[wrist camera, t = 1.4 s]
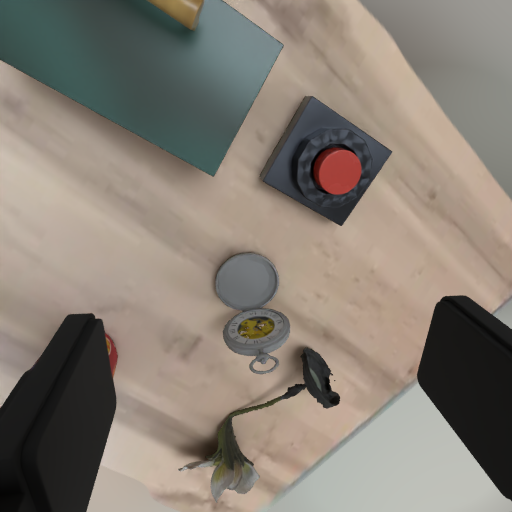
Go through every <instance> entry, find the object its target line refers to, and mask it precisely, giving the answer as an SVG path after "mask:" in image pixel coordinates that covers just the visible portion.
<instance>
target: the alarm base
mask: <svg viewBox="0 0 512 512" xmlns="http://www.w3.org/2000/svg"><path fill="white" fill-rule="evenodd" d="M335 147H337V148H342V149H345V150H348V151H351V152H352V153H354V154H355V155H356V156H357V157H358V159H359V161H360V163H361V176H360V179H359V181H358V183H357V184H356V186H355V187H354V188H353V189H352V190H350V191H349V192H347V193H344V194H339V195H335V194H331V193H329V192H327V191H325V190H324V189H323V188H321V187H320V186H319V185H318V184H317V183H316V181H315V179H314V176H313V167H314V163H315V161H316V159H317V158H318V156H319V155H320V154H321V153H322V152H324V151H325V150H327V149H329V148H335ZM391 153H392V151H391V150H389V149H388V148H386V147H385V146H383V145H382V144H381V143H379V142H378V141H376V140H375V139H373V138H372V137H371V136H369V135H368V134H366V133H365V132H363V131H362V130H360V129H359V128H358V127H356V126H355V125H353V124H352V123H350V122H349V121H348V120H346V119H345V118H343V117H342V116H340V115H339V114H337V113H336V112H335V111H333V110H332V109H330V108H329V107H327V106H326V105H325V104H323V103H322V102H320V101H319V100H317V99H316V98H314V97H313V96H305V98H304V99H303V101H302V103H301V105H300V106H299V108H298V110H297V112H296V113H295V115H294V117H293V119H292V120H291V122H290V124H289V126H288V127H287V129H286V131H285V133H284V134H283V136H282V138H281V139H280V141H279V143H278V145H277V146H276V148H275V150H274V152H273V153H272V155H271V157H270V159H269V160H268V162H267V164H266V166H265V167H264V169H263V171H262V172H261V174H260V176H259V177H260V178H261V179H262V181H263V182H265V183H267V184H268V185H270V186H272V187H274V188H275V189H277V190H279V191H281V192H282V193H284V194H286V195H288V196H289V197H291V198H293V199H295V200H296V201H298V202H300V203H302V204H303V205H305V206H307V207H309V208H310V209H312V210H314V211H316V212H317V213H319V214H321V215H323V216H324V217H326V218H328V219H330V220H331V221H333V222H335V223H336V224H338V225H340V226H342V225H343V223H344V222H345V221H346V219H347V218H348V216H349V215H350V213H351V212H352V210H353V209H354V207H355V206H356V204H357V203H358V201H359V200H360V199H361V197H362V196H363V194H364V193H365V191H366V190H367V188H368V187H369V185H370V184H371V182H372V181H373V180H374V178H375V177H376V175H377V174H378V172H379V171H380V169H381V168H382V166H383V165H384V163H385V162H386V161H387V159H388V158H389V156H390V155H391Z"/></svg>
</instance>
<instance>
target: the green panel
mask: <svg viewBox="0 0 512 512" xmlns="http://www.w3.org/2000/svg"><path fill="white" fill-rule="evenodd" d="M283 46H284V45H283V44H282V43H280V42H279V41H278V40H276V39H275V38H273V37H272V36H271V35H269V34H268V33H267V32H265V31H264V30H263V29H261V28H260V27H258V26H257V25H256V24H254V23H253V22H252V21H250V20H249V19H247V18H246V17H245V16H243V15H242V14H241V13H239V12H238V11H236V10H235V9H234V8H232V7H231V6H230V5H228V4H227V3H225V2H224V1H223V0H0V60H2V61H3V62H5V63H7V64H9V65H11V66H13V67H14V68H16V69H18V70H20V71H22V72H24V73H25V74H27V75H29V76H31V77H33V78H34V79H36V80H38V81H40V82H42V83H44V84H45V85H47V86H49V87H51V88H53V89H54V90H56V91H58V92H60V93H62V94H64V95H65V96H67V97H69V98H71V99H73V100H75V101H76V102H78V103H80V104H82V105H84V106H85V107H87V108H89V109H91V110H93V111H95V112H96V113H98V114H100V115H102V116H104V117H106V118H107V119H109V120H111V121H113V122H115V123H116V124H118V125H120V126H122V127H124V128H126V129H127V130H129V131H131V132H133V133H135V134H136V135H138V136H140V137H142V138H144V139H146V140H147V141H149V142H151V143H153V144H155V145H157V146H158V147H160V148H162V149H164V150H166V151H167V152H169V153H171V154H173V155H175V156H177V157H178V158H180V159H182V160H184V161H186V162H187V163H189V164H191V165H193V166H195V167H197V168H198V169H200V170H202V171H204V172H206V173H208V174H209V175H211V176H213V177H214V175H215V173H216V172H217V170H218V168H219V166H220V164H221V162H222V160H223V158H224V157H225V155H226V153H227V151H228V149H229V147H230V145H231V143H232V142H233V140H234V138H235V136H236V134H237V132H238V130H239V128H240V127H241V125H242V123H243V121H244V119H245V117H246V115H247V113H248V112H249V110H250V108H251V106H252V104H253V102H254V100H255V98H256V97H257V95H258V93H259V91H260V89H261V87H262V85H263V83H264V82H265V80H266V78H267V76H268V74H269V72H270V70H271V68H272V67H273V65H274V63H275V61H276V59H277V57H278V55H279V53H280V52H281V50H282V48H283Z"/></svg>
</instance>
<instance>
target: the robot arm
mask: <svg viewBox="0 0 512 512" xmlns="http://www.w3.org/2000/svg"><path fill="white" fill-rule="evenodd" d="M417 378H418V382H419V384H420V386H421V388H422V389H423V390H424V392H425V393H426V394H427V396H428V397H429V398H430V400H431V401H432V402H433V403H434V405H435V406H436V408H437V409H438V410H439V411H440V413H441V414H442V415H443V417H444V418H445V419H446V421H447V422H448V423H449V425H450V426H451V427H452V429H453V430H454V431H455V433H456V434H457V435H458V437H459V438H460V439H461V441H462V442H463V443H464V445H465V446H466V447H467V449H468V450H469V451H470V453H471V454H472V455H473V456H474V458H475V459H476V460H477V462H478V463H479V464H480V466H481V467H482V468H483V470H484V471H485V472H486V474H487V475H488V476H489V478H490V479H491V480H492V482H493V483H494V484H495V486H496V487H497V488H498V490H499V491H500V492H501V493H502V494H503V496H505V497H506V498H508V499H510V500H511V501H512V329H510V328H509V327H508V326H506V325H505V324H503V323H502V322H501V321H500V320H498V319H497V318H496V317H494V316H493V315H492V314H490V313H489V312H488V311H486V310H485V309H484V308H482V307H481V306H480V305H478V304H477V303H476V302H474V301H473V300H472V299H470V298H469V297H467V296H463V295H462V296H445V297H443V298H442V299H441V300H440V302H438V303H437V304H436V306H435V309H434V313H433V317H432V320H431V324H430V328H429V332H428V335H427V339H426V343H425V346H424V350H423V354H422V358H421V361H420V365H419V369H418V373H417ZM115 410H116V393H115V387H114V382H113V376H112V371H111V365H110V359H109V354H108V348H107V343H106V337H105V331H104V326H103V321H102V319H95V316H94V314H92V313H90V314H70V315H68V316H67V317H66V318H65V319H64V321H63V323H62V324H61V326H60V327H59V329H58V330H57V332H56V333H55V335H54V336H53V338H52V340H51V341H50V343H49V344H48V346H47V347H46V349H45V350H44V352H43V353H42V355H41V357H40V358H39V360H38V361H37V363H36V364H35V366H34V367H33V369H31V370H28V371H26V372H25V373H24V374H23V376H22V377H21V378H20V380H19V381H18V383H17V384H16V386H15V387H14V389H13V390H12V392H11V393H10V395H9V396H8V398H7V399H6V401H5V402H4V404H3V405H2V407H1V408H0V512H86V511H87V507H88V504H89V500H90V497H91V493H92V490H93V486H94V483H95V480H96V476H97V473H98V469H99V466H100V462H101V459H102V456H103V452H104V449H105V445H106V442H107V438H108V435H109V431H110V428H111V425H112V421H113V418H114V414H115Z"/></svg>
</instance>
